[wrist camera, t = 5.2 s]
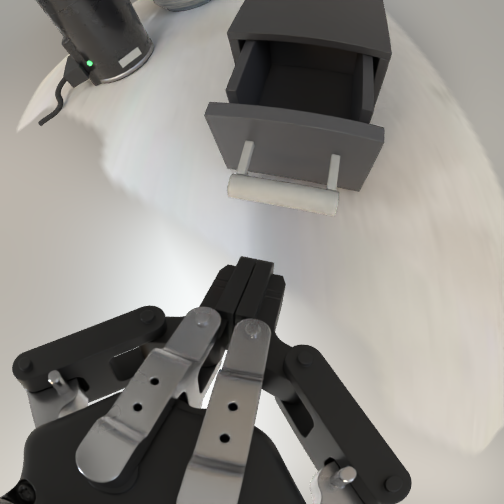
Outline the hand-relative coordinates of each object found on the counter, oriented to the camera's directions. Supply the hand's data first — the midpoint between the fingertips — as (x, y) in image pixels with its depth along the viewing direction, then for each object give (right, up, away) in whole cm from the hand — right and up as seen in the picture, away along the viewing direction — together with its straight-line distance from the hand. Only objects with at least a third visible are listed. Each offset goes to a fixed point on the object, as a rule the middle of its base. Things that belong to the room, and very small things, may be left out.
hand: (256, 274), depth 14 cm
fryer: (+7, +22, +14) cm, 27 cm away
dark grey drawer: (+4, +12, +11) cm, 17 cm away
